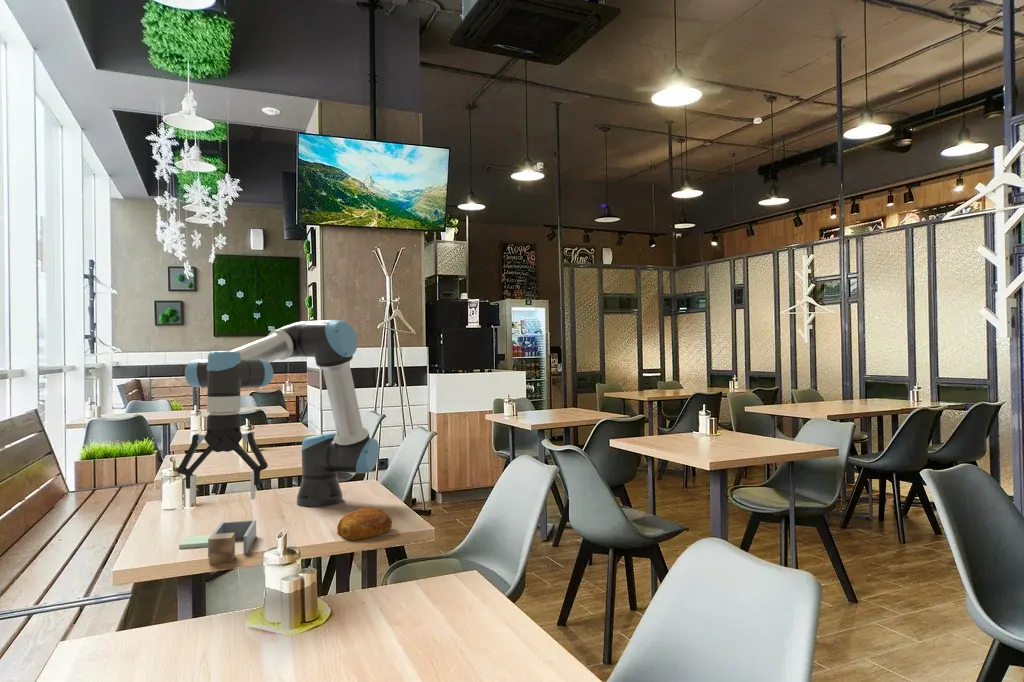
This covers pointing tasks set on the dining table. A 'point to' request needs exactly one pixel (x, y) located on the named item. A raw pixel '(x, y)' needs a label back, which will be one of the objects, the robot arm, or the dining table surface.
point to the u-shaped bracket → (238, 531)
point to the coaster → (194, 542)
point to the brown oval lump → (364, 523)
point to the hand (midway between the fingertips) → (223, 500)
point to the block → (221, 548)
